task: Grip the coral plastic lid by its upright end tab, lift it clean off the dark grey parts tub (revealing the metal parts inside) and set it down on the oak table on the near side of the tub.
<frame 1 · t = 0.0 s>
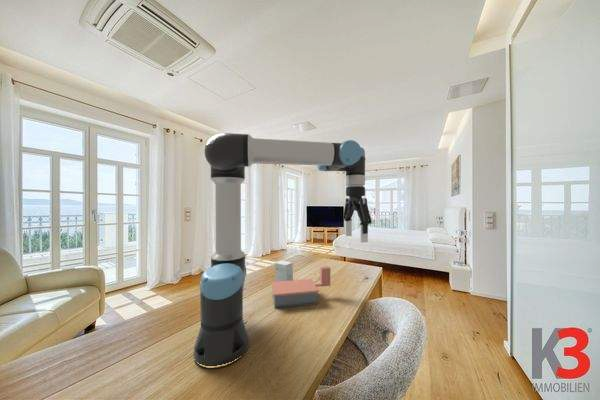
hand: (355, 239, 85), 28 cm above the table, fingers open, 13 cm apart
lid: (294, 287, 92), point 5 cm above the table, touching tub
tub: (294, 299, 92), on the table
small box: (283, 282, 112), on the table
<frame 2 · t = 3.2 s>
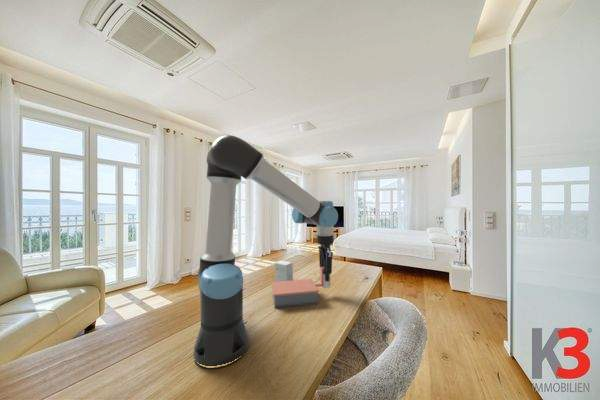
hand: (325, 286, 95), 5 cm above the table, fingers closed on lid, 2 cm apart
lid: (294, 287, 92), point 5 cm above the table, touching gripper, tub
everything else where it was.
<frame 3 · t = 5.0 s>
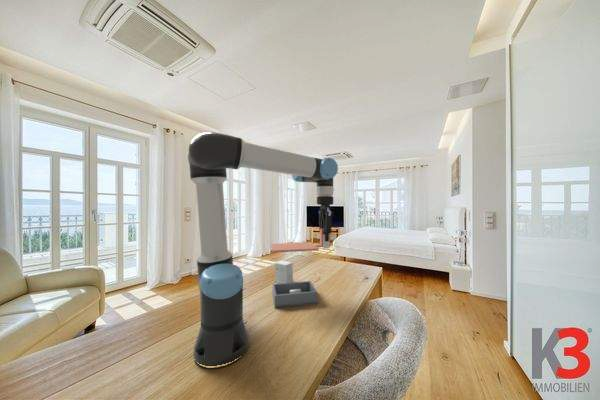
hand: (325, 247, 95), 22 cm above the table, fingers closed on lid, 2 cm apart
lid: (293, 247, 92), point 23 cm above the table, touching gripper
everything else where it was.
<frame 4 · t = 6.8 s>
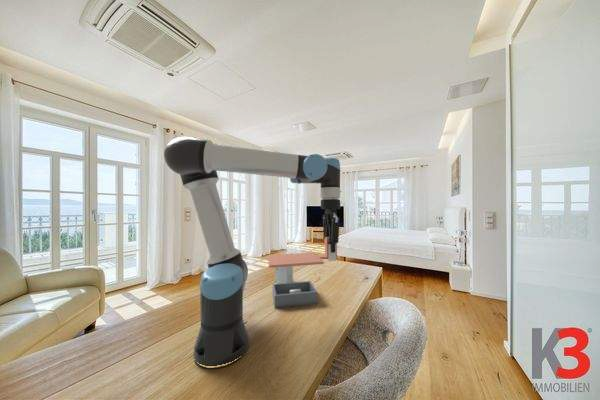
hand: (330, 259, 81), 21 cm above the table, fingers closed on lid, 2 cm apart
lid: (294, 260, 78), point 21 cm above the table, touching gripper
everything else where it was.
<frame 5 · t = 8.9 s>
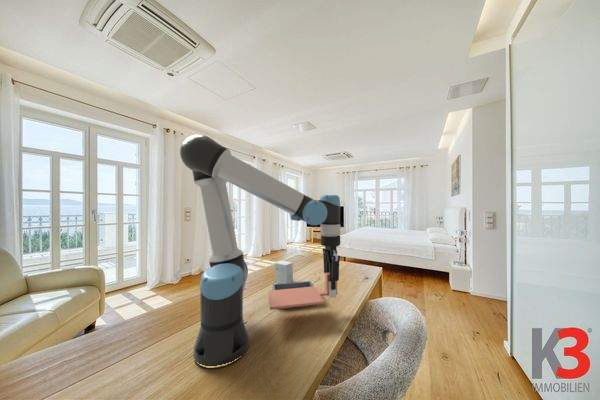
hand: (331, 295, 81), 7 cm above the table, fingers closed on lid, 2 cm apart
lid: (294, 297, 78), point 7 cm above the table, touching gripper
everything else where it was.
when the fingers open (2 cm above the table, at t = 10.6 s): lid drops 3 cm, on the table.
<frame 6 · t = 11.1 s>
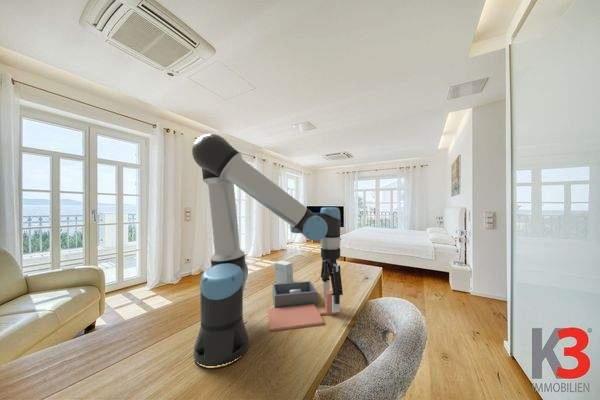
hand: (330, 304, 81), 3 cm above the table, fingers open, 10 cm apart
lid: (294, 317, 78), on the table
everything else where it was.
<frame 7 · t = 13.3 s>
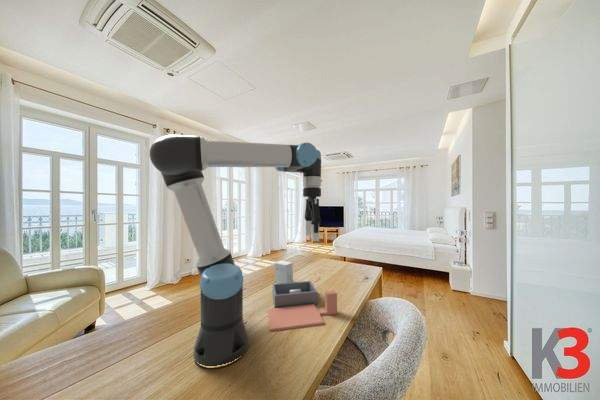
hand: (311, 238, 88), 28 cm above the table, fingers open, 13 cm apart
nothing on the table moved.
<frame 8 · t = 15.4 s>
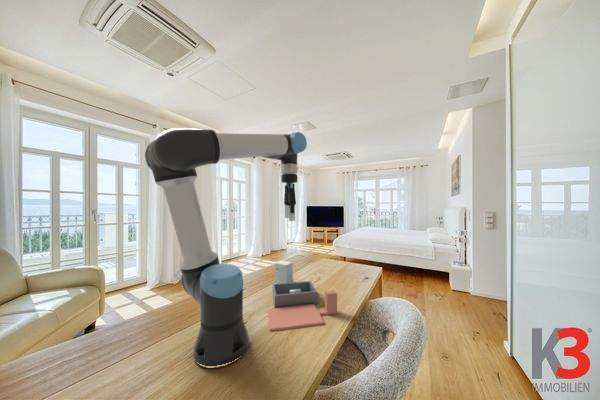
hand: (289, 219, 98), 35 cm above the table, fingers open, 13 cm apart
nothing on the table moved.
at the end: lid inside the target area (1.3 cm from its centre), on the table; lid touching table; the gripper is holding nothing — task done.
